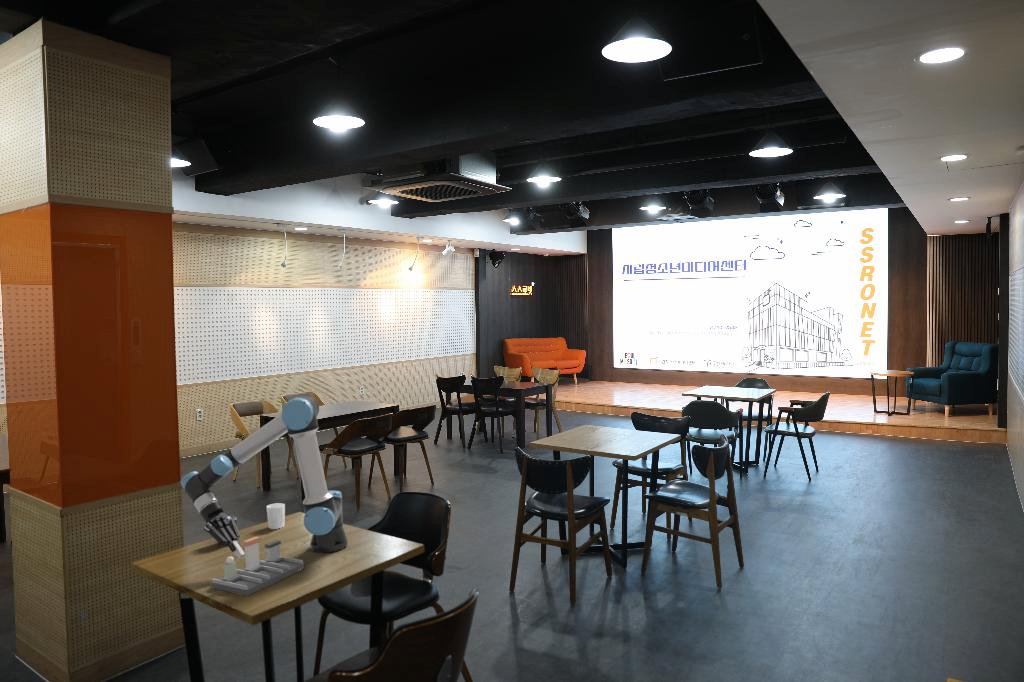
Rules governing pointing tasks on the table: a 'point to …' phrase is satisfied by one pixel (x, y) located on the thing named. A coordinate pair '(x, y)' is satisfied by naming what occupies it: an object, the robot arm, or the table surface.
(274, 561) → the grey slider
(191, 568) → the table surface
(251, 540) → the white tall block
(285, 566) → the grey slotted tray
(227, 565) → the sage knob slider
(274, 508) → the white cup
